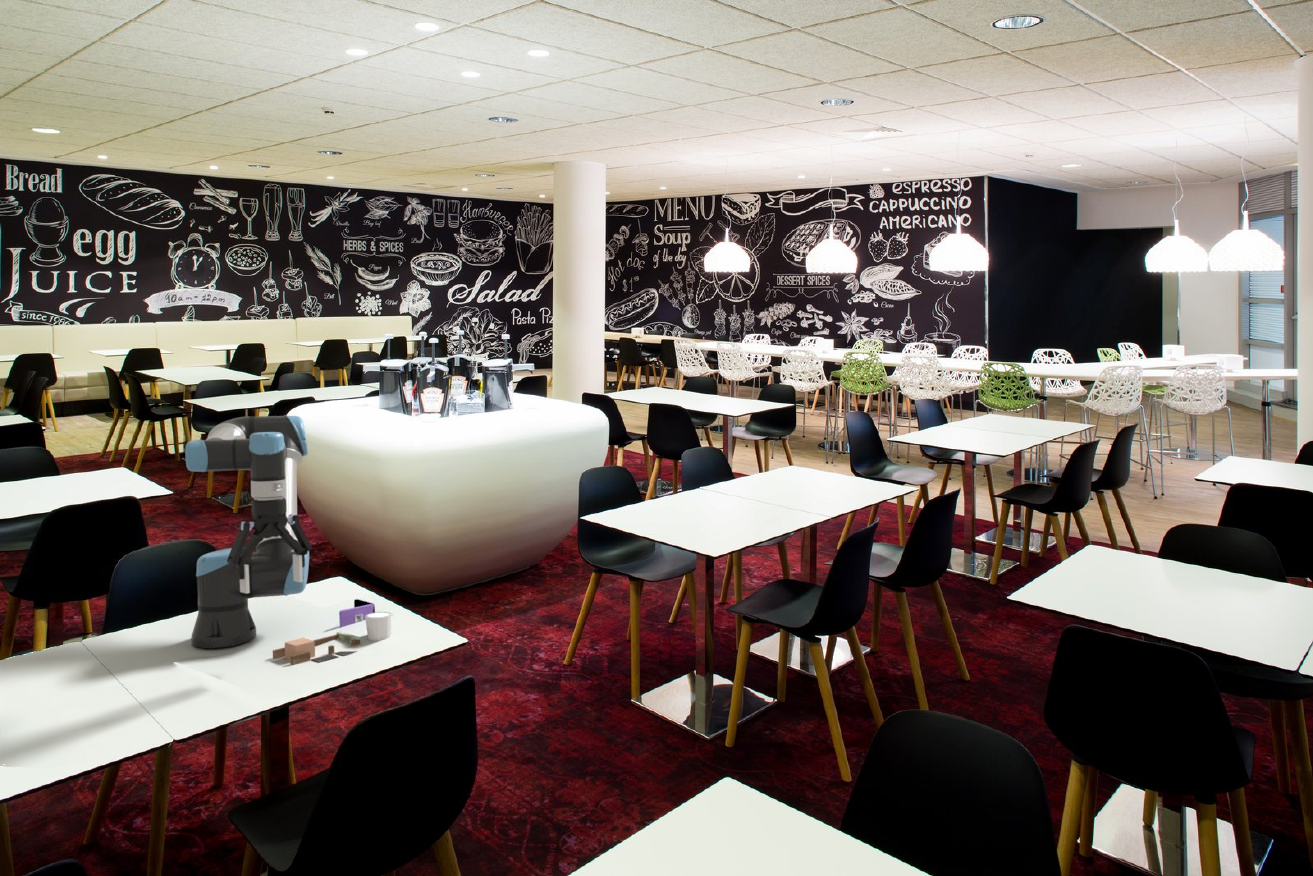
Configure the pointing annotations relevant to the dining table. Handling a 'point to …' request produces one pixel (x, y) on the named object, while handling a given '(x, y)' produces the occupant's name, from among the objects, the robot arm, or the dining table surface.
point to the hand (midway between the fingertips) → (272, 587)
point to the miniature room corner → (356, 612)
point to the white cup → (379, 625)
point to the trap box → (306, 655)
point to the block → (299, 647)
